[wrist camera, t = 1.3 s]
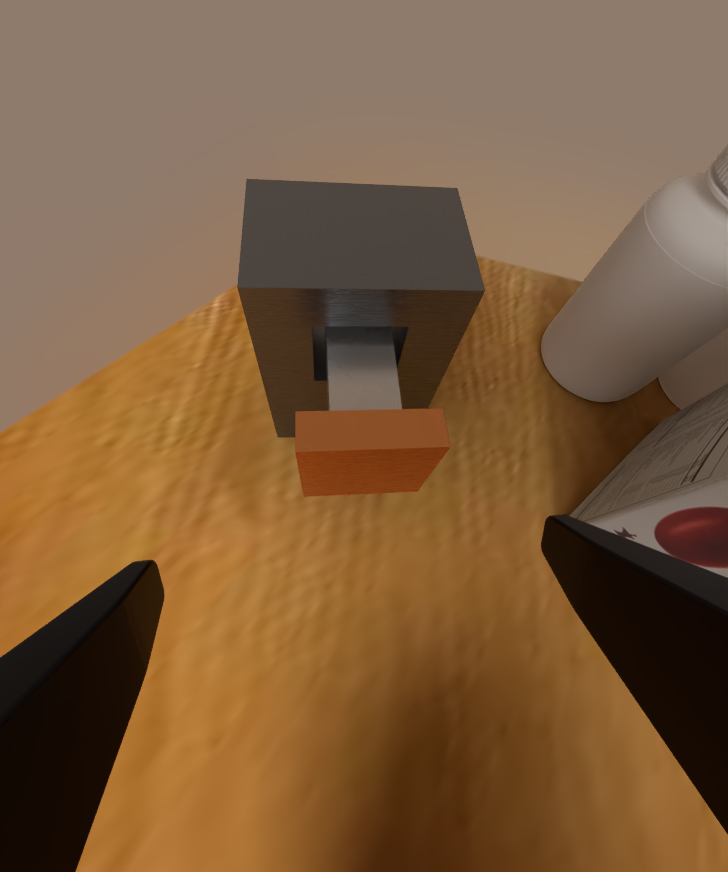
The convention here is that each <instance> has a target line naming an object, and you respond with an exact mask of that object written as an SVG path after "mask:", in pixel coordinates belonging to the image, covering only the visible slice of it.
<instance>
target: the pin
mask: <svg viewBox="0 0 728 872" xmlns="http://www.w3.org/2000/svg"><path fill="white" fill-rule="evenodd" d="M325 346H326V371H327V397H328V411H295V452H296V458H297V463H298V468H299V474H300V479H301V484H302V490H303V495H304V497H307V496H329V495H351V494H372V493H394V492H416V491H418V490H419V489H420V487H421V486H422V485H423V483H424V482H425V481H426V479H427V478H428V477H429V475H430V474H431V472H432V471H433V470H434V468H435V467H436V466H437V464H438V463H439V461H440V460H441V459H442V457H443V456H444V455H445V453H446V452H447V451H448V449H449V448H450V443H449V437H448V432H447V426H446V421H445V415H444V410H443V408H431V409H402V404H401V397H400V389H399V381H398V374H397V366H396V358H395V351H394V343H393V335H392V327H343V326H325Z"/></svg>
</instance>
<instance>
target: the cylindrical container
mask: <svg viewBox="0 0 728 872" xmlns="http://www.w3.org/2000/svg"><path fill="white" fill-rule="evenodd" d="M658 380H659V383H660V385H661V387H662V389H663V391H664V393H665V394H666V395H667V397H668V398H669V399H670V400H671V402H672V403H673V404H674V405H675V406H676V407H677V408H679V409H680V410H682V409H684V408H686V407H687V406H689V405H691V404H693V403H694V402H696V401H698V400H700V399H701V398H703V397H705V396H706V395H708V394H710V393H712V392H713V391H715V390H717V389H719V388H720V387H722V386H724V385H726V384H727V383H728V328H727V329H725V330H724V331H722V332H721V333H720V334H718V335H717V336H715V337H714V338H712V339H711V340H710V341H708V342H707V343H705V344H704V345H702V346H701V347H700V348H698V349H697V350H695V351H694V352H693V353H691V354H690V355H688V356H687V357H685V358H684V359H683V360H681V361H680V362H678V363H677V364H675V365H674V366H673V367H671V368H670V369H668V370H667V371H665V372H664V373H663V374H661V375H660V376H658Z"/></svg>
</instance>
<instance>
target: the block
mask: <svg viewBox="0 0 728 872" xmlns="http://www.w3.org/2000/svg"><path fill="white" fill-rule="evenodd" d="M238 291H239V295H240V299H241V302H242V306H243V310H244V313H245V317H246V321H247V325H248V328H249V332H250V336H251V339H252V343H253V347H254V350H255V354H256V358H257V362H258V365H259V369H260V373H261V376H262V380H263V384H264V388H265V391H266V395H267V399H268V402H269V406H270V410H271V414H272V417H273V421H274V425H275V428H276V432H277V436H278V437H295V411H328V397H327V371H326V346H325V326H343V327H392V335H393V343H394V351H395V358H396V366H397V374H398V381H399V389H400V397H401V404H402V409H428V406H429V404H430V402H431V400H432V398H433V396H434V394H435V392H436V390H437V388H438V386H439V384H440V382H441V380H442V378H443V376H444V374H445V372H446V370H447V367H448V365H449V363H450V361H451V359H452V357H453V355H454V353H455V351H456V349H457V347H458V345H459V343H460V341H461V339H462V337H463V335H464V333H465V331H466V329H467V326H468V324H469V322H470V320H471V318H472V316H473V314H474V312H475V310H476V308H477V306H478V304H479V302H480V300H481V298H482V296H483V294H484V292H485V289H484V285H483V282H482V278H481V274H480V270H479V267H478V263H477V259H476V256H475V252H474V248H473V245H472V241H471V237H470V234H469V230H468V226H467V222H466V219H465V215H464V211H463V208H462V204H461V200H460V197H459V193H458V189H457V188H442V187H418V186H396V185H373V184H350V183H327V182H325V183H324V182H304V181H281V180H258V179H247V181H246V193H245V206H244V218H243V228H242V240H241V253H240V264H239V276H238Z"/></svg>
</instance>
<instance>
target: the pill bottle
mask: <svg viewBox="0 0 728 872" xmlns="http://www.w3.org/2000/svg"><path fill="white" fill-rule="evenodd" d="M727 328H728V145H727V146H726V148H725V149H724V150H723V151H722V152H721V153H720V155H719V156H718V157H717V159H716V160H715V161H714V162H713V163H712V164H711V165H710V166H709V168H708V169H707V171H706V173H696V174H690V175H686V176H683V177H680V178H677V179H675V180H673V181H671V182H669V183H668V184H666V185H664V186H663V187H662V188H660V189H659V190H658V191H657V192H655V193H654V194H653V195H652V196H651V197H650V198H649V199H648V200H647V201H646V202H645V204H644V205H643V206H642V207H641V209H640V210H639V211H638V212H637V214H636V215H635V216H634V218H633V219H632V220H631V221H630V222H629V224H628V225H627V226H626V228H625V229H624V230H623V231H622V233H621V234H620V235H619V236H618V238H617V239H616V240H615V242H614V243H613V244H612V245H611V247H610V248H609V249H608V251H607V252H606V253H605V254H604V256H603V257H602V258H601V259H600V261H599V262H598V263H597V264H596V266H595V267H594V268H593V269H592V271H591V272H590V273H589V275H588V276H587V277H586V278H585V280H584V281H583V282H582V283H581V285H580V286H579V287H578V288H577V290H576V291H575V292H574V294H573V295H572V296H571V297H570V299H569V300H568V301H567V302H566V304H565V305H564V306H563V308H562V309H561V310H560V311H559V313H558V314H557V315H556V316H555V318H554V319H553V320H552V321H551V323H550V324H549V326H548V328H547V329H546V331H545V333H544V335H543V338H542V342H541V354H542V358H543V361H544V364H545V366H546V368H547V370H548V371H549V373H550V374H551V375H552V377H553V378H554V379H555V380H556V381H557V382H558V383H559V384H560V385H561V386H563V387H564V388H565V389H567V390H568V391H570V392H571V393H573V394H575V395H577V396H579V397H581V398H584V399H587V400H591V401H596V402H613V401H618V400H621V399H624V398H626V397H628V396H630V395H632V394H634V393H635V392H637V391H638V390H640V389H641V388H643V387H644V386H646V385H647V384H648V383H650V382H651V381H653V380H654V379H656V378H657V377H658V376H660V375H661V374H663V373H664V372H665V371H667V370H668V369H670V368H671V367H673V366H674V365H675V364H677V363H678V362H680V361H681V360H683V359H684V358H685V357H687V356H688V355H690V354H691V353H693V352H694V351H695V350H697V349H698V348H700V347H701V346H702V345H704V344H705V343H707V342H708V341H710V340H711V339H712V338H714V337H715V336H717V335H718V334H720V333H721V332H722V331H724V330H725V329H727Z"/></svg>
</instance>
